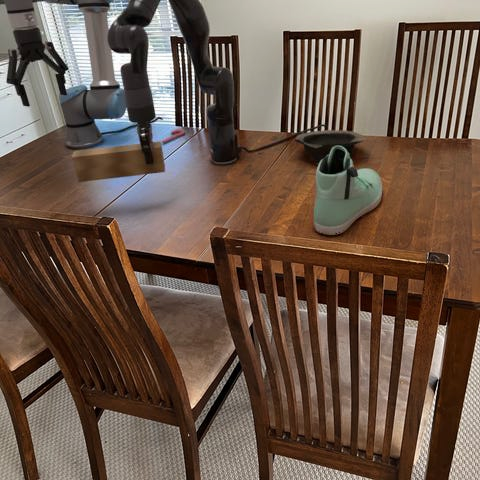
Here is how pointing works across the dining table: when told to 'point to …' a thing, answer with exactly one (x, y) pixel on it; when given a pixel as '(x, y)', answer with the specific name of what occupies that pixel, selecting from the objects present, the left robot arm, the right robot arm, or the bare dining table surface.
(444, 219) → the dining table surface
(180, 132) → the candy cane
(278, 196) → the dining table surface
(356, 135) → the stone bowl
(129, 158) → the bar
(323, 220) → the sneaker
